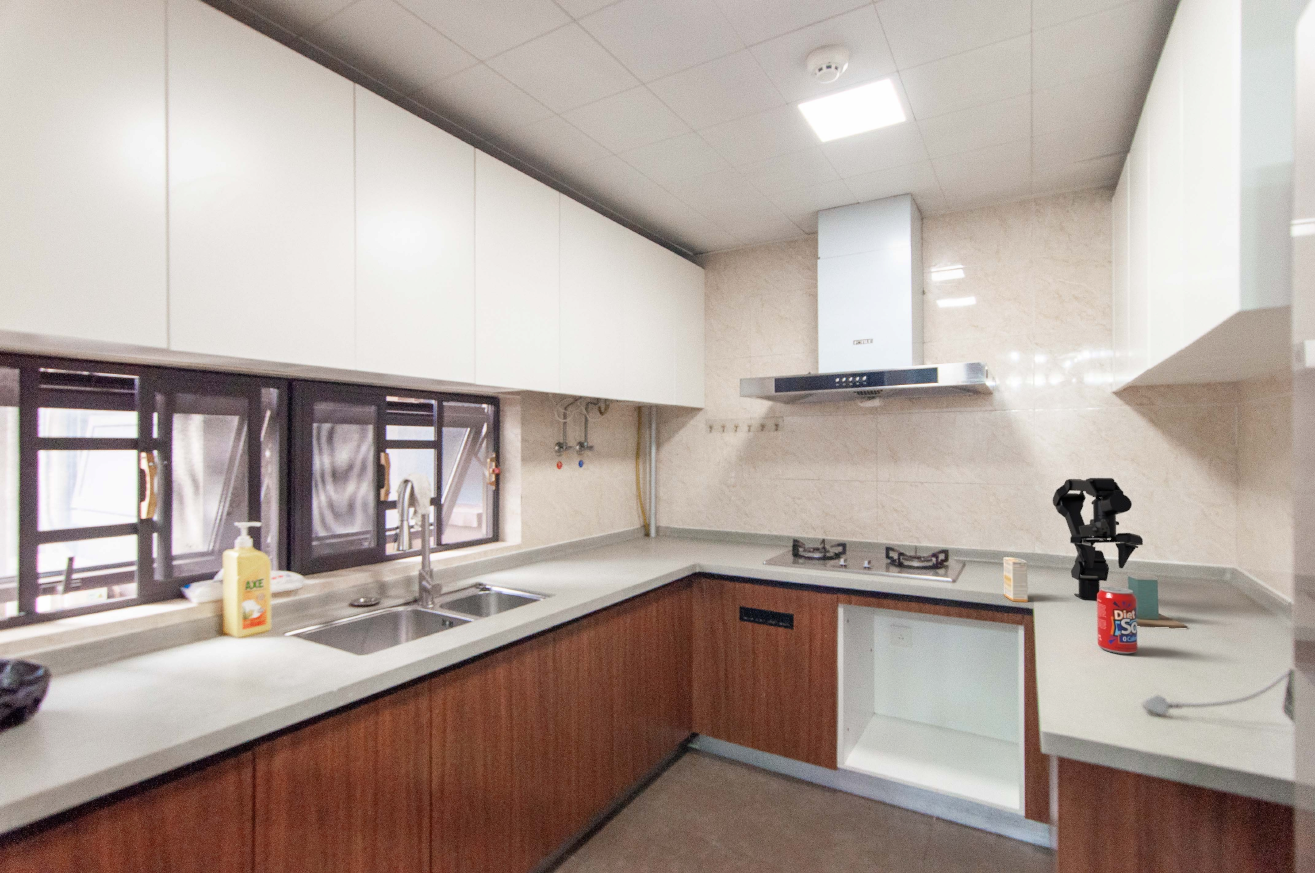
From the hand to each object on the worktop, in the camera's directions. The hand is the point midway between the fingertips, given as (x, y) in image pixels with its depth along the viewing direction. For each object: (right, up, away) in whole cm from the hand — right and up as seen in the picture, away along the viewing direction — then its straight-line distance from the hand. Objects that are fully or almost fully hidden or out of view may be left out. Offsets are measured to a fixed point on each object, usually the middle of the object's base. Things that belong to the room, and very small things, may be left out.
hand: (1105, 567), depth 189 cm
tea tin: (+3, -12, -11) cm, 17 cm away
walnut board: (+3, -13, -12) cm, 18 cm away
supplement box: (-20, -13, +14) cm, 27 cm away
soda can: (-24, -13, -38) cm, 46 cm away
